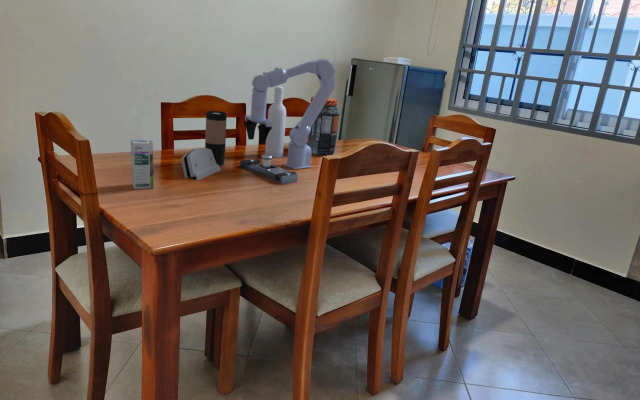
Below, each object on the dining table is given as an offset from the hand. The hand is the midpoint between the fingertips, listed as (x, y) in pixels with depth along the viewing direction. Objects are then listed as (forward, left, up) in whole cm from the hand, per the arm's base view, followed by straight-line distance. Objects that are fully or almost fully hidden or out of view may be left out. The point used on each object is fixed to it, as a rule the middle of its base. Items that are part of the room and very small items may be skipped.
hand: (256, 141), depth 174 cm
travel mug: (+15, -6, -10) cm, 19 cm away
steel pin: (+4, +13, -9) cm, 16 cm away
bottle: (-17, -9, -10) cm, 21 cm away
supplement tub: (-43, -7, -10) cm, 45 cm away
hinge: (+26, +3, -10) cm, 28 cm away
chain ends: (+4, +13, -9) cm, 17 cm away
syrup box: (+50, +9, -10) cm, 52 cm away
